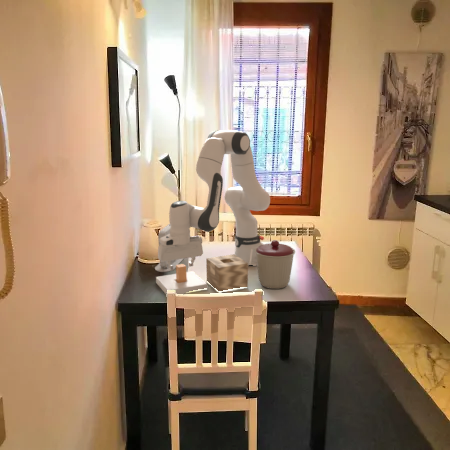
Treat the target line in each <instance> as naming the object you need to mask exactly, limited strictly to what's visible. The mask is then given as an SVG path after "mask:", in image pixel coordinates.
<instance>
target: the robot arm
mask: <svg viewBox="0 0 450 450" xmlns="http://www.w3.org/2000/svg"><path fill="white" fill-rule="evenodd" d="M225 155H230V164H231V171H232V172H231V173H232V177H233V180H234V181H235V182H236V183H237V184H238V185H239V186H231V187H229V188H228V189H226V190H225V194H224V201H225V203H226V204H227V206H228V207H229V208H230V210H231V211H232V214H233V216H234V219H235V235H234V236H235V237H234V243H235V247H234V255H236V256H237V257H239V258H241V259H242V260H244V261H245V262H247V263H248V266H249V265H253V266H252V267H257V257H256V253H255V249H256V248H257V247H259V246H261V245H264V244H265V243H263V242H262V241H264V239H265V238H264V237H265V236H262V235H259V234H258V220H257V218H256V217H254V215H253V214H252V213H251V211H254V212H259V211H260V212H261V211H262V212H263V211H266V210H267V209H268V208H269V207H270V203H271V196H270V193H268V192H267V191H266V190H265V189H264V188H263V186H262V185H261V184H260V182H259V180H258V178H257V174H256V170H255V163H254V156H253V155H254V154H253V150H252V147H251V140H250V136H249V135H248V134H247V133H246V132H245V131H241V130H232V129H227V130H226V129H225V130H218V129H217V130H213V131H211V132H210V133H209V135H208V136H207V139H206V140H205V141H204V143H203V146H202V147H201V150H200V152H199V156H198V158H197V161H196V167H195V170H196V171H195V172H196V174H197V176H198V177H199V178H200V179H201V180H202V181H203V182H205V183H206V185H207V186H208V196H207V201H206V206H205V207H201V206H198V205H193V204H191V203H188V201H186V200H177V201H174V202H172V204H170V206H169V213H168V215H169V217H168V218H169V220H168V222H169V224H170V226H171V228H170V234H168V235H166V236H164V237H161V238H160V243H161V244H160V245H159V244H158V249H157V259H158V260H159V262H160V261H161V262H164V261H166V262H167V264H168V265H169V269H170V270H172V269H173V265H170V263H171V260H177V259H183V260H184V259H189V258H190V259H191V260H190V261H188V267H194V262H195V261H196V257H202V256H203V254H204V251H203V238H202V236H199V235H194V236H191V228H193V229H198V230H201V231H204V232H207V233H210V232H212V231H214V230H215V229H216V228H217V227H218V225H219V223H220V207H221V199H222V193H223V192H222V191H223V184H224V178H223V176H222V173H221V171H222V165H223V161H224V156H225Z"/></svg>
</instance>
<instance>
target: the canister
mask: <svg viewBox="0 0 450 450" xmlns="http://www.w3.org/2000/svg"><path fill="white" fill-rule="evenodd" d="M263 244H264V245H261V246H259V247H257V248H256V249H255V253H256V257H257V266H256V267H257V275H258V281H259V283H260V285H261V286H263V287H264V288H266V289H275V290H277V289H278V290H280V289H283V288H285V287H287V286H288V284H289V283H290V279H291V275H292V269H293V262H294V255H295V254H296V250H295V249H294V248H293V247H292V246H290V245H287V244H282V243H280V242H279V241H278V240H277V239H273V240H272V241H271V242H270V243H263Z"/></svg>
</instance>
